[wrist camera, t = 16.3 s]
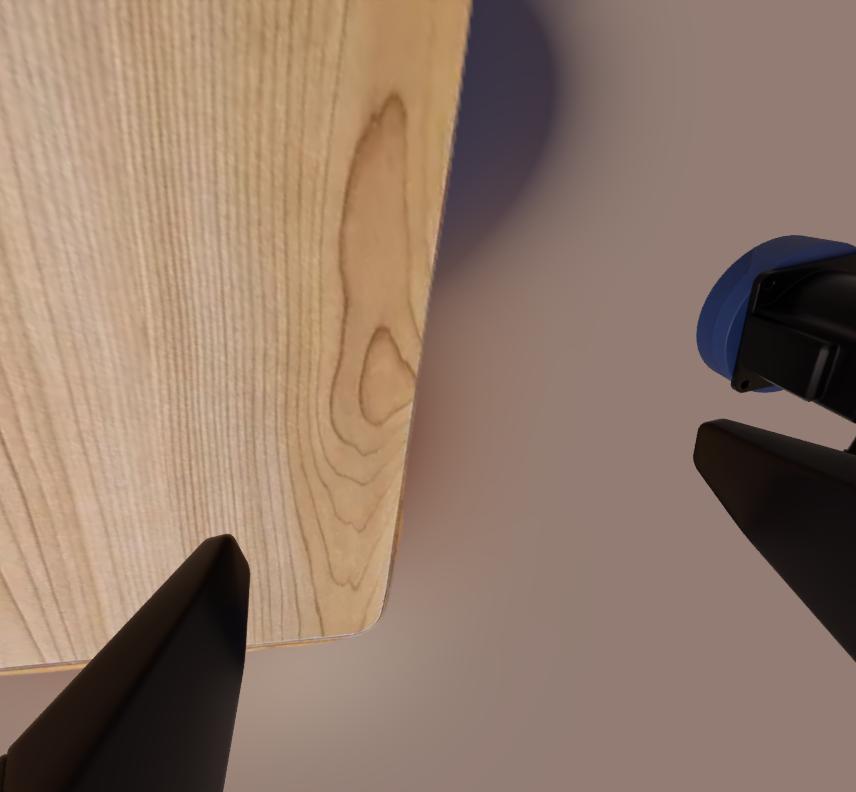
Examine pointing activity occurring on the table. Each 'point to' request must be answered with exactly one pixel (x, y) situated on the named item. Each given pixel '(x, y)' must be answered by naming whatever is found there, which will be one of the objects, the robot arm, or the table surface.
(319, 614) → the table surface
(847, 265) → the robot arm
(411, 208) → the table surface
